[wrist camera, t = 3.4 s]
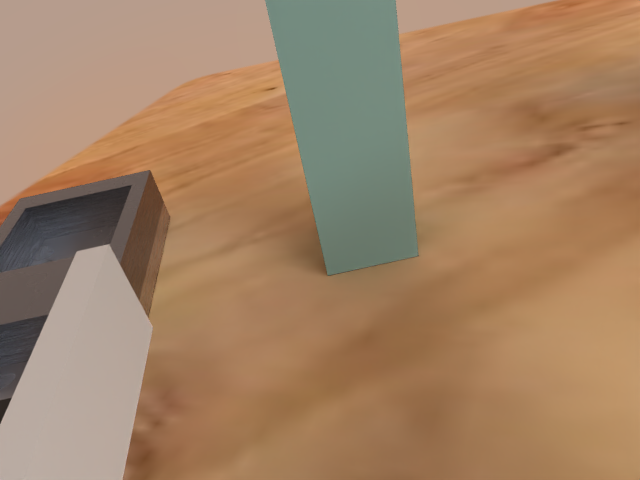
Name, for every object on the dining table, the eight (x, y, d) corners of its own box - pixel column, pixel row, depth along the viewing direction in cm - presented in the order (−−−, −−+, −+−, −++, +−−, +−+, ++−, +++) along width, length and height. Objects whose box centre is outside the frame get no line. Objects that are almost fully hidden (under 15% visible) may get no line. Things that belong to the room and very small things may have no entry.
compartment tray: (47, 243, 29) (19, 198, 27) (170, 217, 29) (150, 170, 27) (-133, 580, 15) (-213, 533, 13) (100, 531, 15) (51, 476, 13)
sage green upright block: (317, 225, 26) (256, -45, 19) (396, 207, 26) (365, -70, 19) (327, 275, 23) (258, -29, 16) (418, 256, 22) (390, -58, 16)
